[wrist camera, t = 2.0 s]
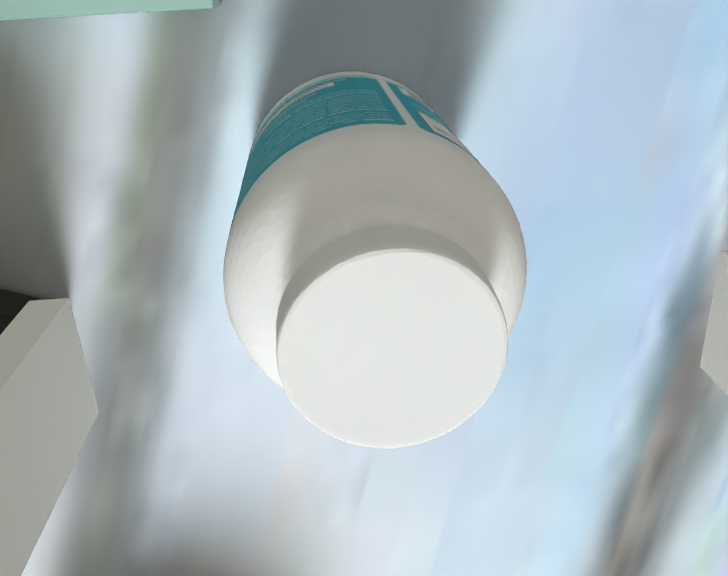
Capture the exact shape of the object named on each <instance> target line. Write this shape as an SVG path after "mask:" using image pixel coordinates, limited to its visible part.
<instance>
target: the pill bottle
mask: <svg viewBox="0 0 728 576" xmlns="http://www.w3.org/2000/svg"><path fill="white" fill-rule="evenodd" d="M526 273H527V261H526V251H525V244H524V239H523V235H522V232H521V228H520V224H519V221H518V219H517V216H516V214H515V212H514V210H513V208H512V206H511V204H510V202H509V200H508V198H507V197H506V195H505V194H504V192H503V191H502V189H501V188H500V186H499V185H498V184H497V182H496V181H495V180H494V179H493V177H492V176H491V175H490V174H489V173H488V172H487V170H486V169H485V168H484V167H483V166H482V165H481V164H480V163H479V161H478V160H477V159H476V158H475V157H474V156H473V155H472V154H471V153H470V152H469V150H468V149H467V148H466V147H465V146H464V145H463V144H462V143H461V141H460V140H459V139H458V138H457V137H456V136H455V135H454V134H453V133H452V131H451V130H450V129H449V128H448V127H447V126H446V125H445V124H444V122H443V121H442V120H441V119H440V118H439V117H438V116H437V114H436V113H435V112H434V111H433V110H432V109H431V108H430V107H429V106H428V105H427V104H426V103H425V102H424V101H423V100H422V99H421V98H420V97H419V96H418V95H417V94H415V93H414V92H413V91H411V90H410V89H408V88H407V87H405V86H404V85H402V84H400V83H398V82H396V81H394V80H392V79H390V78H387V77H384V76H380V75H377V74H372V73H366V72H336V73H331V74H326V75H322V76H319V77H316V78H314V79H311V80H309V81H307V82H305V83H303V84H301V85H299V86H298V87H296V88H294V89H293V90H291V91H290V92H289V93H287V94H286V95H285V96H284V97H283V98H281V99H280V100H279V101H278V102H277V103H276V104H275V106H274V107H273V108H272V109H271V110H270V112H269V113H268V114H267V115H266V117H265V118H264V120H263V122H262V123H261V125H260V127H259V129H258V131H257V133H256V135H255V138H254V141H253V144H252V147H251V150H250V154H249V158H248V162H247V166H246V170H245V174H244V178H243V181H242V186H241V190H240V194H239V198H238V202H237V205H236V209H235V213H234V217H233V221H232V224H231V228H230V233H229V237H228V242H227V247H226V252H225V259H224V271H223V281H224V293H225V300H226V305H227V309H228V313H229V316H230V320H231V323H232V325H233V327H234V329H235V331H236V334H237V336H238V338H239V340H240V342H241V343H242V345H243V347H244V348H245V350H246V351H247V353H248V355H249V356H250V357H251V358H252V360H253V361H254V362H255V363H256V364H257V365H258V367H259V368H260V369H261V370H262V371H263V372H264V373H265V374H266V375H267V376H268V377H269V378H270V379H271V380H273V381H274V382H275V383H276V384H278V385H279V386H281V387H282V388H283V389H284V390H285V392H286V394H287V396H288V397H289V399H290V400H291V402H292V404H293V405H294V407H295V408H296V409H297V410H298V411H299V412H300V413H301V415H302V416H303V417H304V418H305V419H306V420H308V421H309V422H310V423H311V424H312V425H314V426H315V427H317V428H318V429H319V430H321V431H322V432H324V433H326V434H328V435H330V436H332V437H334V438H336V439H339V440H341V441H344V442H347V443H351V444H354V445H357V446H364V447H373V448H398V447H406V446H412V445H416V444H420V443H424V442H426V441H429V440H432V439H435V438H437V437H440V436H442V435H444V434H446V433H448V432H450V431H451V430H453V429H454V428H456V427H458V426H459V425H461V424H462V423H464V422H465V421H466V420H467V419H468V418H470V417H471V416H472V415H473V414H474V413H475V412H476V411H477V410H478V409H479V408H480V407H481V406H482V405H483V404H484V402H485V401H486V400H487V399H488V397H489V396H490V395H491V393H492V392H493V390H494V389H495V387H496V385H497V383H498V380H499V378H500V376H501V374H502V371H503V369H504V365H505V361H506V356H507V350H508V336H509V334H510V332H511V330H512V328H513V326H514V324H515V322H516V320H517V317H518V314H519V311H520V308H521V305H522V301H523V297H524V291H525V286H526Z"/></svg>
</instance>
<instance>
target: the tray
mask: <svg viewBox="0 0 728 576" xmlns="http://www.w3.org/2000/svg"><path fill="white" fill-rule="evenodd" d="M218 5H221V0H0V21H4V20H20V19H37V18H54V17H71V16H87V15H104V14H121V13H138V12H155V11H171V10H188V9H205V8H214V7H216V6H218Z"/></svg>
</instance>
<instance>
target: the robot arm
mask: <svg viewBox="0 0 728 576" xmlns="http://www.w3.org/2000/svg"><path fill="white" fill-rule="evenodd" d="M700 367H701V368H702V369H703V370H704V371H705V372H706V373H707V374H708V375H709V377H710V378H711V379H712V380H713V381H714V382H715V383H716V384H717V385H718V386H719V387H720V388H721V389H722V390H723V391H724V392H725V394H726V395H727V396H728V250H726V251H721V257H720V262H719V267H718V273H717V278H716V283H715V288H714V294H713V299H712V304H711V310H710V315H709V320H708V326H707V331H706V336H705V342H704V347H703V352H702V358H701V363H700ZM98 414H99V411H98V407H97V403H96V400H95V396H94V392H93V388H92V384H91V381H90V377H89V373H88V369H87V366H86V362H85V358H84V354H83V351H82V347H81V343H80V339H79V335H78V332H77V328H76V324H75V320H74V317H73V313H72V309H71V305H70V301H69V298H60V299H47V300H33V301H29V302H28V303H27V304H26V305H25V306H24V307H23V309H22V310H21V311H20V312H19V313H18V315H17V316H16V317H15V318H14V319H13V321H12V322H11V323H10V324H9V325H8V326H7V328H6V329H5V330H4V331H3V332H2V334H1V335H0V576H21V574H22V572H23V570H24V568H25V566H26V564H27V562H28V560H29V558H30V555H31V553H32V551H33V549H34V547H35V545H36V543H37V541H38V539H39V537H40V535H41V533H42V530H43V528H44V526H45V524H46V522H47V520H48V518H49V516H50V514H51V512H52V510H53V508H54V506H55V503H56V501H57V499H58V497H59V495H60V493H61V491H62V489H63V487H64V485H65V483H66V481H67V478H68V476H69V474H70V472H71V470H72V468H73V466H74V464H75V462H76V460H77V458H78V456H79V454H80V451H81V449H82V447H83V445H84V443H85V441H86V439H87V437H88V435H89V433H90V431H91V429H92V426H93V424H94V422H95V420H96V418H97V416H98Z"/></svg>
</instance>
